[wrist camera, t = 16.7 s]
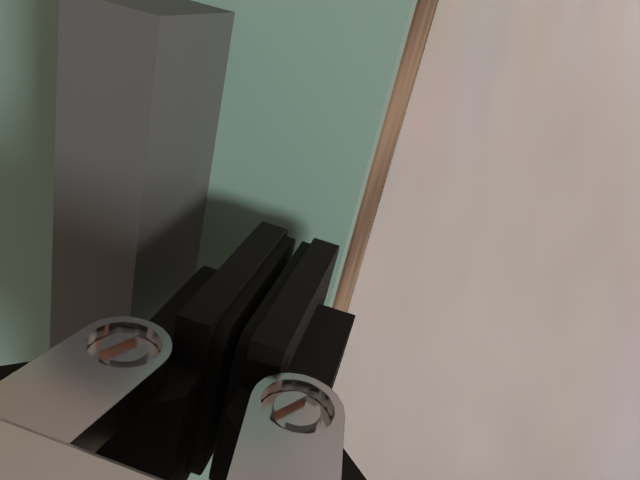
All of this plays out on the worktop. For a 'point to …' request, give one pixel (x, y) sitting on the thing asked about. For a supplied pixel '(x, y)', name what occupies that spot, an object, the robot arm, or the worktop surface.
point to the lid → (176, 145)
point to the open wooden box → (385, 148)
